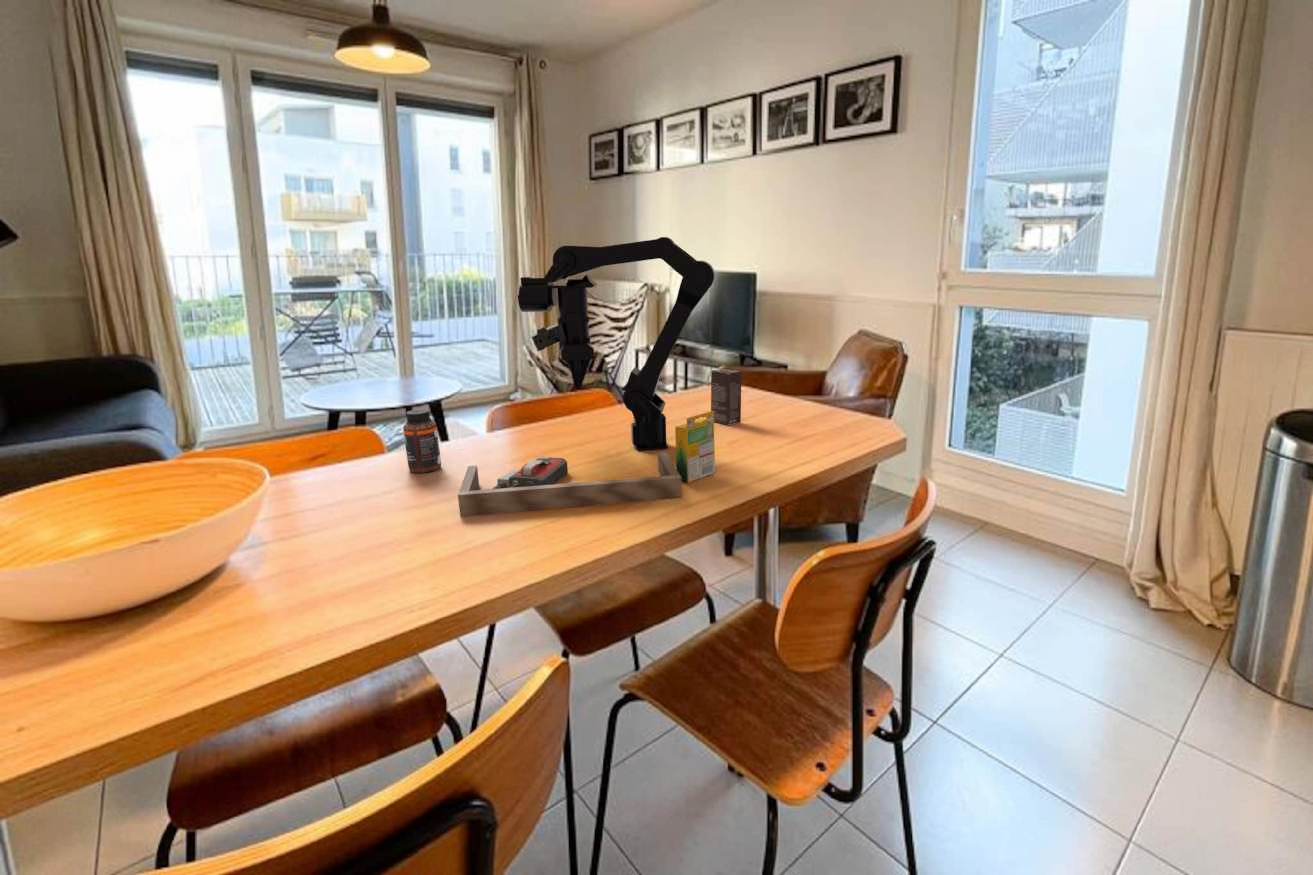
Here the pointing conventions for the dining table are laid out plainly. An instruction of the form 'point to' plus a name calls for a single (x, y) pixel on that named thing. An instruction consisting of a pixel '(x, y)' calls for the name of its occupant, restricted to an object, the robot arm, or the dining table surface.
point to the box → (726, 396)
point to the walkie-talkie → (535, 473)
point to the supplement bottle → (421, 442)
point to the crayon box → (695, 447)
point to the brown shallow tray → (569, 492)
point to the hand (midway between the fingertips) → (577, 388)
